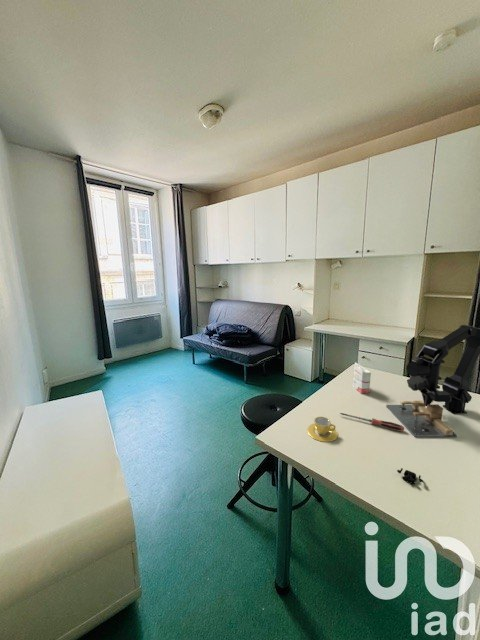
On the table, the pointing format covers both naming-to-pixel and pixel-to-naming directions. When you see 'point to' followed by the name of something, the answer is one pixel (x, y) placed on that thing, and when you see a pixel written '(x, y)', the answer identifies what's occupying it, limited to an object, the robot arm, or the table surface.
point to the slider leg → (430, 412)
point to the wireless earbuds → (409, 476)
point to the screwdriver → (381, 423)
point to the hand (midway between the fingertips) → (426, 405)
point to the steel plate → (416, 422)
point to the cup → (322, 429)
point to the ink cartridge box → (361, 379)
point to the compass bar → (436, 421)
